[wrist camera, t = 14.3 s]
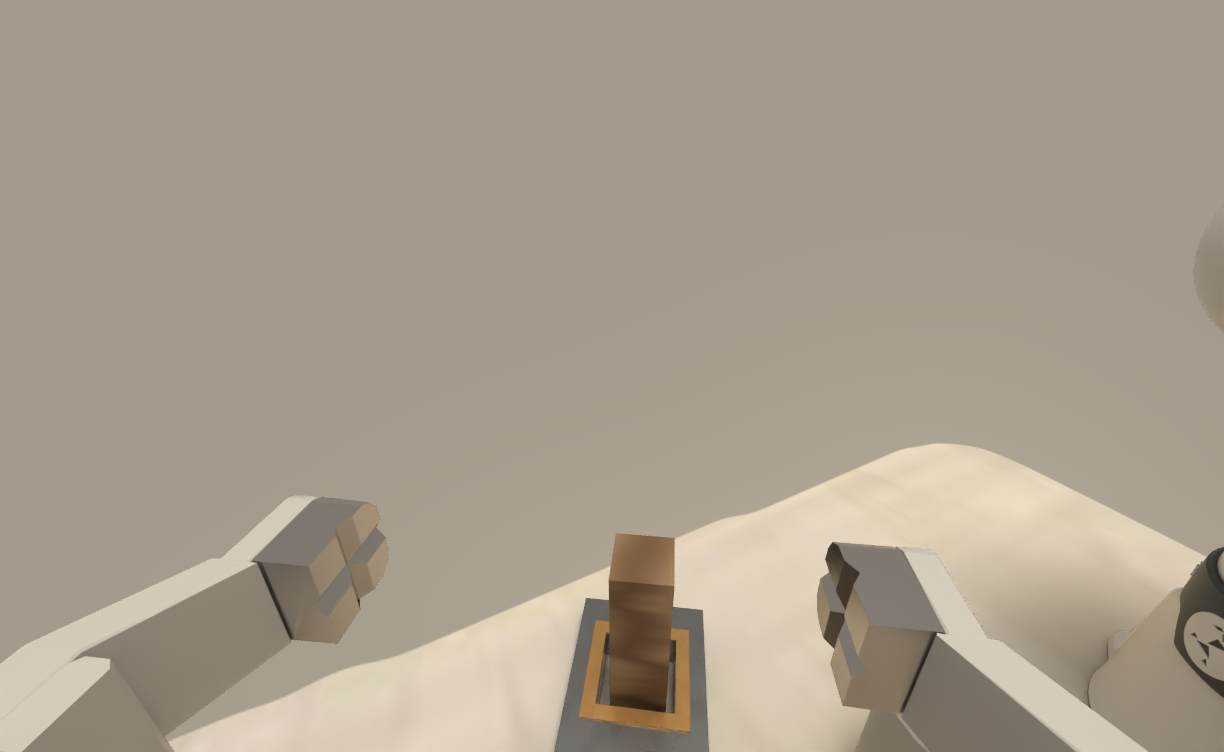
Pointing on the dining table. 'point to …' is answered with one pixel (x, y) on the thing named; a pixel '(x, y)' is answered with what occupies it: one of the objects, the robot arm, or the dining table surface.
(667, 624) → the walnut peg
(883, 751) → the can
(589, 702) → the metal plate
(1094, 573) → the dining table surface
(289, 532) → the robot arm
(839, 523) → the dining table surface
